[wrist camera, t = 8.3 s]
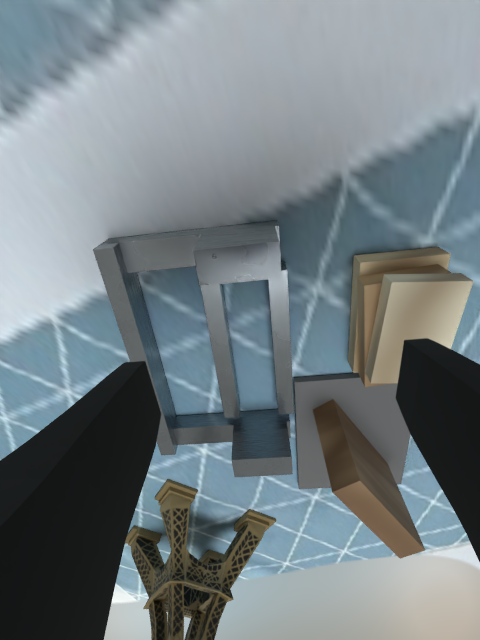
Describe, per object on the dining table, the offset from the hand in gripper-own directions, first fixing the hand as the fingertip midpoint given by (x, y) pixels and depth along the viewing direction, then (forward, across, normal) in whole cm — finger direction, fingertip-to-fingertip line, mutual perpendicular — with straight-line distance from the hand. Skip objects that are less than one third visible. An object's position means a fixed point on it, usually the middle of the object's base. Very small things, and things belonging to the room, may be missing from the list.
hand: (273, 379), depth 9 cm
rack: (+10, +3, +5) cm, 12 cm away
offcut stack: (+10, -7, +4) cm, 13 cm away
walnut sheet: (+9, -5, +13) cm, 17 cm away
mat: (+10, -6, +14) cm, 18 cm away
